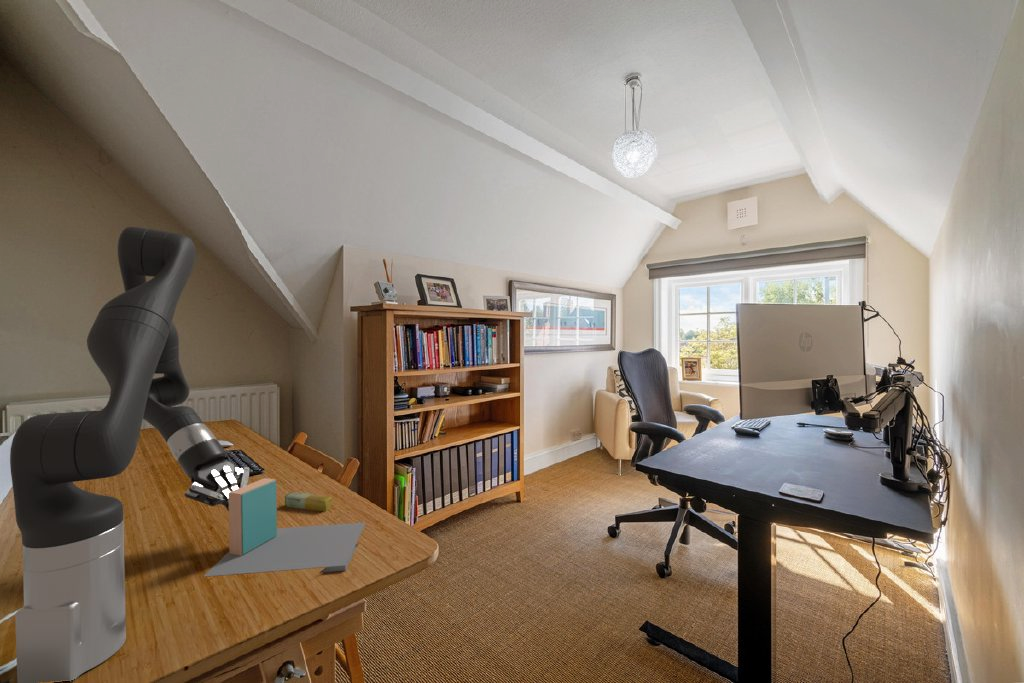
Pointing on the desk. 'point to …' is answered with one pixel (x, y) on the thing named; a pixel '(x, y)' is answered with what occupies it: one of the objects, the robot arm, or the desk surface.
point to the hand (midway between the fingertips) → (242, 514)
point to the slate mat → (296, 551)
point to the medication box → (308, 501)
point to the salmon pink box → (252, 516)
